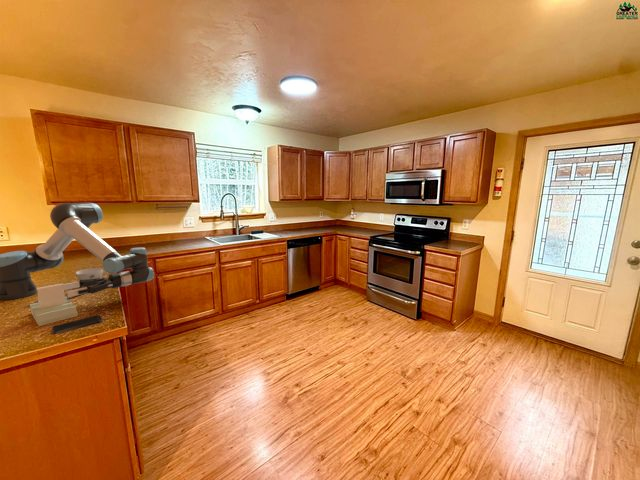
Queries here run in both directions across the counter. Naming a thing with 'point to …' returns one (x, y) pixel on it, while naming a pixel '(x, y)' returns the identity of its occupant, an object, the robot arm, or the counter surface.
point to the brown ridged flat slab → (38, 302)
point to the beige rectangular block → (51, 296)
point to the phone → (76, 324)
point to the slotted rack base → (53, 313)
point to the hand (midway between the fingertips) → (64, 290)
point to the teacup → (90, 273)
